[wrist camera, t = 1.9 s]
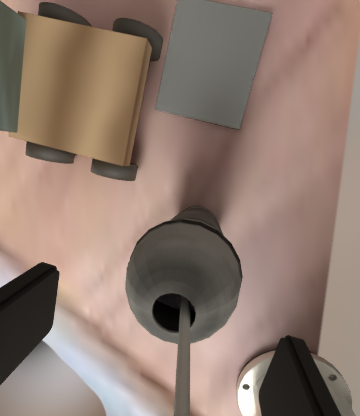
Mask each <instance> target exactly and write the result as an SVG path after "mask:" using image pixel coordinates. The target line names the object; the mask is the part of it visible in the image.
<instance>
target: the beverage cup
mask: <svg viewBox="0 0 360 416" xmlns="http://www.w3.org/2000/svg"><path fill="white" fill-rule="evenodd" d="M241 282H242V270H241V264H240V259H239V257H238V255H237V253H236V251H235V249H234V247H233V246H232V244H231V243H230V242H229V241H228V240H227V239H226V238H225V237H224V236H223V233H222V231H221V228H220V226H219V223H218V222H217V220H216V218H215V216H214V215H213V214H212V213H211V212H210V211H209V210H208V209H206V208H204V207H198V206H195V207H190V208H188V209H186V210H184V211H182V212H180V213H179V214H178V215H177V216H175V217H174V218H173V219H171V220H170V221H166V222H163V223H161V224H159V225H157V226H155V227H153V228H151V229H149V230H148V231H147V232H146V233H145V234H144V235H143V236H142V237H141V238H140V239H139V241H138V242H137V244H136V246H135V248H134V250H133V252H132V255H131V257H130V261H129V263H128V267H127V274H126V293H127V297H128V302H129V305H130V308H131V310H132V312H133V314H134V315H135V317H136V319H137V320H138V322H139V323H140V324H141V325H142V326H143V327H144V328H145V329H146V330H147V331H148V332H149V333H150V334H152V335H154V336H156V337H157V338H159V339H161V340H163V341H167V342H171V343H176V344H178V353H177V369H176V386H175V402H174V416H190V343H195V342H198V341H201V340H203V339H206V338H209V337H210V336H212V335H213V334H214V333H215V332H217V331H218V330H219V329H220V328H222V327H223V326H224V325H225V324H226V322H227V321H228V319H229V317H230V316H231V314H232V313H233V311H234V309H235V308H236V305H237V301H238V296H239V292H240V287H241Z"/></svg>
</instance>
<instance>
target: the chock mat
mask: <svg viewBox="0 0 360 416" xmlns="http://www.w3.org/2000/svg"><path fill="white" fill-rule="evenodd" d="M272 14H273V13H271V12H265V11H260V10H255V9H250V8H245V7H239V6H234V5H229V4H224V3H218V2H213V1H208V0H177V5H176V10H175V15H174V20H173V25H172V30H171V34H170V39H169V44H168V49H167V54H166V59H165V64H164V69H163V73H162V78H161V83H160V88H159V93H158V98H157V103H156V108H155V109H156V110H158V111H162V112H166V113H170V114H174V115H179V116H183V117H187V118H191V119H196V120H200V121H204V122H208V123H212V124H217V125H221V126H225V127H229V128H234V129H238V130H239V129H240V125H241V122H242V118H243V115H244V111H245V108H246V104H247V101H248V97H249V94H250V90H251V87H252V83H253V80H254V76H255V73H256V69H257V66H258V62H259V59H260V55H261V52H262V48H263V45H264V41H265V38H266V34H267V31H268V28H269V24H270V21H271V17H272Z"/></svg>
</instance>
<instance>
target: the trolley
mask: <svg viewBox="0 0 360 416" xmlns="http://www.w3.org/2000/svg"><path fill="white" fill-rule="evenodd" d="M162 43H163V38H162V36H161V35H160V34H159V33H158V32H157V31H156V30H155V29H153V28H152V27H150V26H148V25H146V24H144V23H142V22H139V21H136V20H133V19H128V18H119V19H116V20H115V21H114V24H113V31H109V30H104V29H100V28H95V27H92V26H91V24H90V23H89V22H88V21H87V20H86V19H84V18H83V17H82V16H80V15H79V14H77V13H75V12H74V11H72V10H70V9H68V8H65V7H63V6H60V5H57V4H54V3H49V2H42V3H40V4H39V12H38V15H33V14H28V13H23V12H19V11H18V14H17V13H16V12H15V11H13V10H12V9H11V8H9V7H8V6H7V5H5V4H4V3H3V2H1V1H0V130H1V131H8V132H9V137H13V138H17V139H21V140H25V141H27V144H26V155H27V156H30V157H33V158H36V159H41V160H45V161H51V162H57V163H68V164H70V163H74V156H75V154H78V155H82V156H86V157H90V158H93V160H92V166H91V172H92V173H95V174H97V175H100V176H104V177H108V178H112V179H118V180H125V181H134V180H135V178H136V173H137V168H138V166H137V165H135V164H132V163H130V160H131V155H132V150H133V145H134V140H135V134H136V129H137V124H138V119H139V114H140V108H141V103H142V98H143V93H144V87H145V82H146V77H147V72H148V67H149V61H157V60H159V58H160V53H161V48H162Z"/></svg>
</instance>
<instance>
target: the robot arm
mask: <svg viewBox="0 0 360 416" xmlns="http://www.w3.org/2000/svg"><path fill="white" fill-rule="evenodd" d="M58 281H59V271H58V270H57V268H56V266H54V265H50V264H47V263H44V262H41V263H39V264H37V265H36V266H34V267H33V268H31V269H30V270H28V271H26V272H25V273H23V274H22V275H20V276H18V277H17V278H15V279H14V280H12V281H10V282H9V283H7V284H6V285H4V286H2V287H1V288H0V385H1V384H2V383H3V382H4V381H5V380H6V378H7V377H8V376H9V375H10V374H11V373H12V372H13V371H14V370H15V369H16V367H17V366H18V365H19V364H20V363H21V362H22V361H23V360H24V359H25V358H26V357H27V356H28V355H29V353H30V352H31V351H32V350H33V349H34V348H35V347H36V346H37V345H38V344H39V343H40V341H41V340H42V339H43V338H44V337H45V336H46V335H47V334H48V333H49V331H50V330H51V328H52V325H53V320H54V312H55V304H56V296H57V289H58ZM236 389H237V401H238V406H239V409H240V411H241V414H242V416H355V414H354V412H353V411H352V399H351V393H350V390H349V388H348V386H347V384H346V382H345V380H344V379H343V377H342V375H341V374H340V372H339V371H338V370H337V369H336V368H335V367H334V366H333V365H332V364H330V363H329V362H328V361H326V360H325V359H323V358H321V357H319V356H317V355H315V354H313V353H310V351H309V349H308V347H307V345H306V343H305V342H304V340H302V339H299V338H296V337H292V336H289V335H288V336H286V337H285V338H281V339H280V341H279V343H278V346H277V348H276V350H275V351H270V352H267V353H264V354H262V355H260V356H258V357H256V358H255V359H253V360H252V361H251V362H250V363H248V364H247V365H246V367H245V368H244V369H243V371H242V372H241V374H240V376H239V378H238V382H237V388H236Z"/></svg>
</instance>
